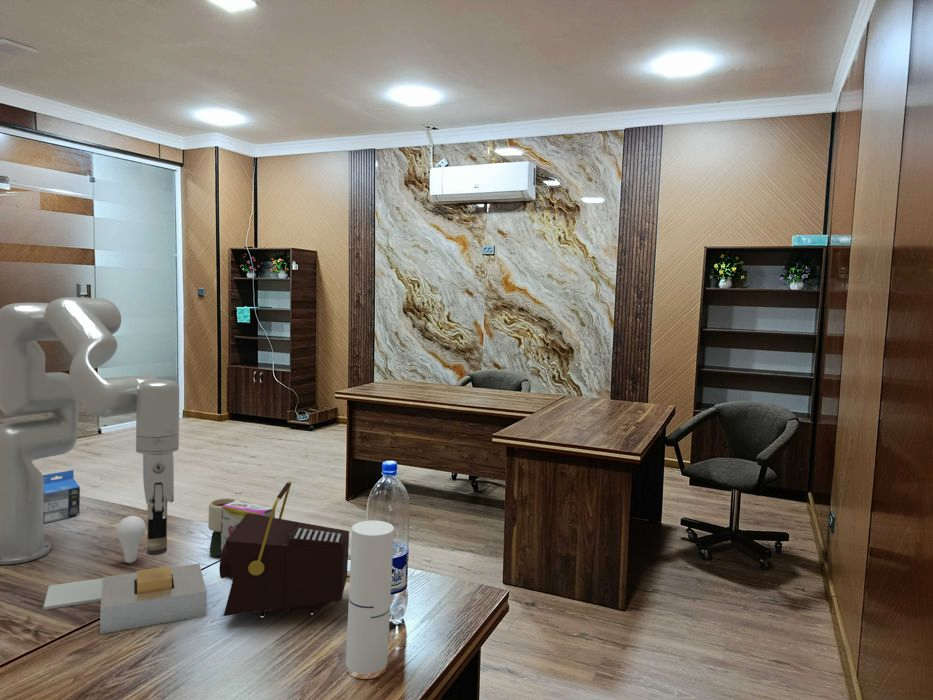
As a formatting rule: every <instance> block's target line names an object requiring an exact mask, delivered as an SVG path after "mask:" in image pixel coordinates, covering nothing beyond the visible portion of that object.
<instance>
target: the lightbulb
mask: <svg viewBox="0 0 933 700" xmlns="http://www.w3.org/2000/svg"><path fill="white" fill-rule="evenodd" d="M145 523H146V522H145V521H144V520H143V519H142V517H139V516H136V515H130V516H126V517H124V518H122V519H121V520H120V521H119V522H118V524H117V526H116V529H115V535H116V537H117V540H118V541H119V542H120V544H121V546H122V553H123V559H124V562H125V563H128V564H133V563H134V562H135V561H137V559H138V557H137V556H138V552H139V546H140V543H141V541H142V539H143V537H144V535H145V533H146V532H147V524H145Z"/></svg>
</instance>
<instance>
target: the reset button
mask: <svg viewBox="0 0 933 700" xmlns="http://www.w3.org/2000/svg"><path fill="white" fill-rule="evenodd" d="M170 568H171V565H168V566H161V567H160V566H159V567H155V568H148V569H142V570H141V569H140V570H139V569H138V570H136V572H137V594H142V593H149V592H155V591H162V590H168V589H172V575H171V569H170Z"/></svg>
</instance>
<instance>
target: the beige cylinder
mask: <svg viewBox="0 0 933 700" xmlns="http://www.w3.org/2000/svg"><path fill="white" fill-rule="evenodd" d="M154 491H155V490H154ZM162 501H163V499H162ZM152 502H155V500H152ZM153 508H155V506H153ZM146 510H147V514H146V515H147V516H146V519H147V524H146V534H147V536H146V540H147V541H146V554H147V555H149V556H159V555H163V554H165V553H167V551H168V548H167V547H168V529H167V530H166V537H164V538H157V539H148V519H149V518H150V505H148V504H147V509H146ZM166 517H167V518H168V502H167V500H166Z"/></svg>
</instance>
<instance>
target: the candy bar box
mask: <svg viewBox="0 0 933 700" xmlns="http://www.w3.org/2000/svg"><path fill="white" fill-rule="evenodd" d="M238 500H239V499H238ZM238 500H235V501H232V502H230V503H228V504H225V505H223V506H222V523H221V553H222V550H223V547H224V545H225V543H226V540H227V538H228V537H229V536H230V534H231V533H232V532H233V531H234V529H235V528H236V527H237V526H238V524H239V523H240V522H241V520H242V519H243V518H244V517H245V515H246V514H247V513H250V514H256V515H261V516H267V517H270V515H271V511H272V508H273V506H272V507H271V506H267V505H262V504H258V503H257V504H255V503H250V502H247V501H241V500H240V501H238ZM273 518H276V511H275V512H274V515H273ZM229 578H231V579H232V576H230V577H229Z"/></svg>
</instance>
